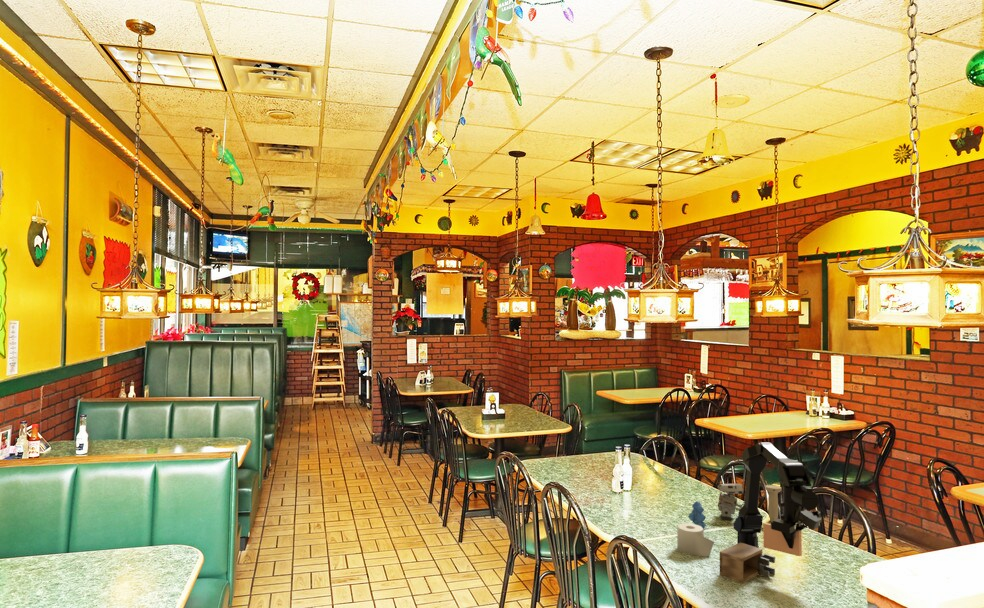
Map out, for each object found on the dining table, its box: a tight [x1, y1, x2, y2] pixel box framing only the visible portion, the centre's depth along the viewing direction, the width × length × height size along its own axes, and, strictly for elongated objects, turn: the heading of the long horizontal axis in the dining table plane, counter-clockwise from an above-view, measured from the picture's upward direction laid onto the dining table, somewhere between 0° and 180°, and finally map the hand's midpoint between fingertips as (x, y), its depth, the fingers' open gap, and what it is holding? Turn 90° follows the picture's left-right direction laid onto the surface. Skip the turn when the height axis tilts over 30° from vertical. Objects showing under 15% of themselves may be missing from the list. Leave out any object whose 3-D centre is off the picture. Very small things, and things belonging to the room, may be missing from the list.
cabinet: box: [719, 542, 763, 584], centre depth 207 cm, size 8×14×8 cm, turn 129°
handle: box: [764, 484, 783, 523], centre depth 262 cm, size 5×6×15 cm
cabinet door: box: [762, 522, 803, 557], centre depth 203 cm, size 12×2×8 cm, turn 40°
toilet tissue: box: [676, 522, 715, 557], centre depth 228 cm, size 9×13×9 cm
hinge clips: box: [758, 553, 776, 579], centre depth 207 cm, size 4×5×6 cm
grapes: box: [687, 500, 707, 530], centre depth 249 cm, size 12×7×12 cm, turn 178°
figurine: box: [717, 482, 744, 521], centre depth 267 cm, size 9×12×15 cm
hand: (792, 547), depth 201 cm, fingers closed on cabinet door, 2 cm apart
